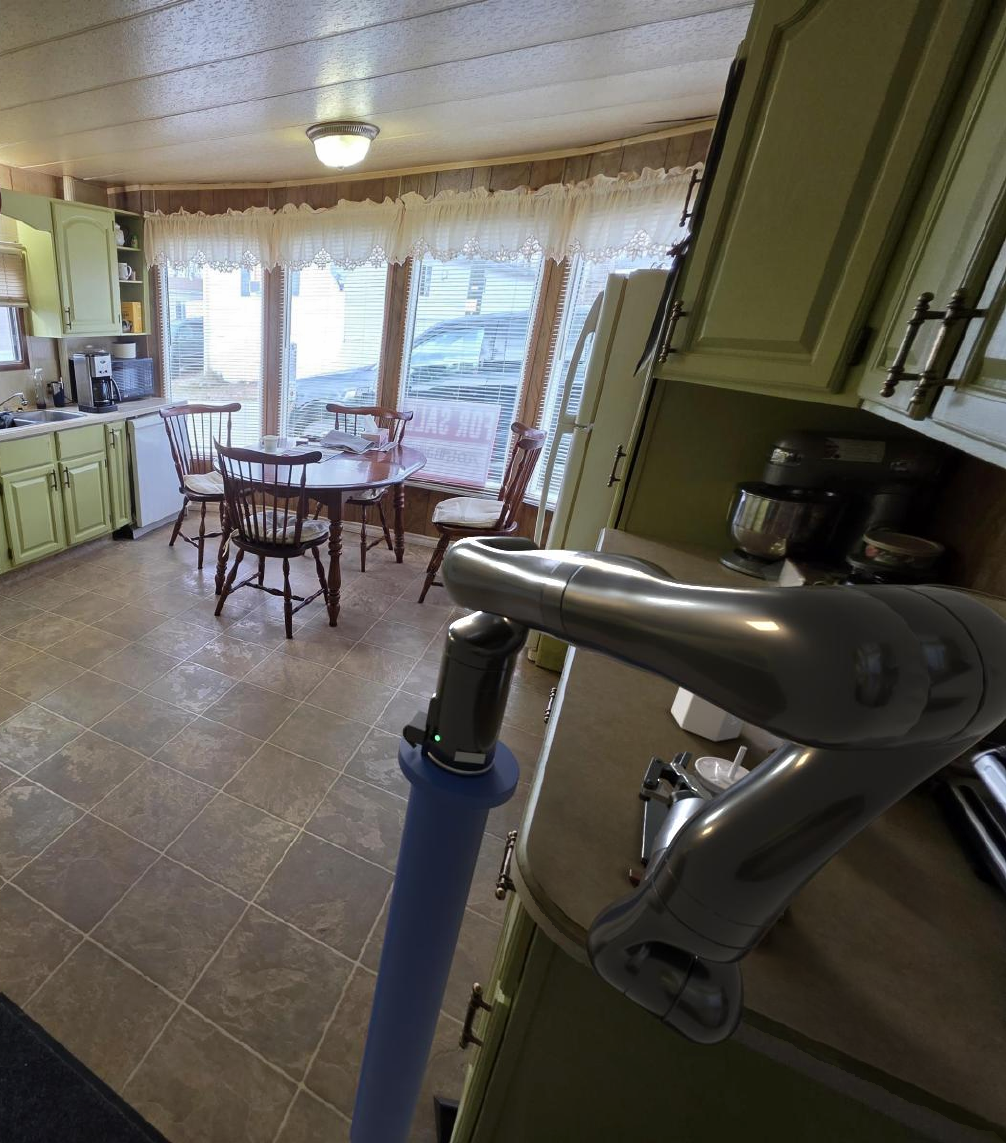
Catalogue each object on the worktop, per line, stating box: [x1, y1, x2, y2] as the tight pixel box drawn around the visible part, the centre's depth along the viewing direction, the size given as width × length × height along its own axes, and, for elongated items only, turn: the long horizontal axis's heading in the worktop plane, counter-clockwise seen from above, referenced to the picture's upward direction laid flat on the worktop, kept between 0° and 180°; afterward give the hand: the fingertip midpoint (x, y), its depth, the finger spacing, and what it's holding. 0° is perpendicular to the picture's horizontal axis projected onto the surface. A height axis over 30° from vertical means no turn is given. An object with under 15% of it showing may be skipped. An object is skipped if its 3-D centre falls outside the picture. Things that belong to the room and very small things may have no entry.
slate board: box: [640, 798, 785, 921], centre depth 72 cm, size 13×12×1 cm
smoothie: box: [692, 745, 750, 794], centre depth 71 cm, size 6×6×14 cm
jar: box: [670, 686, 746, 742], centre depth 94 cm, size 9×8×12 cm
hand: (729, 776), depth 71 cm, fingers open, 8 cm apart
